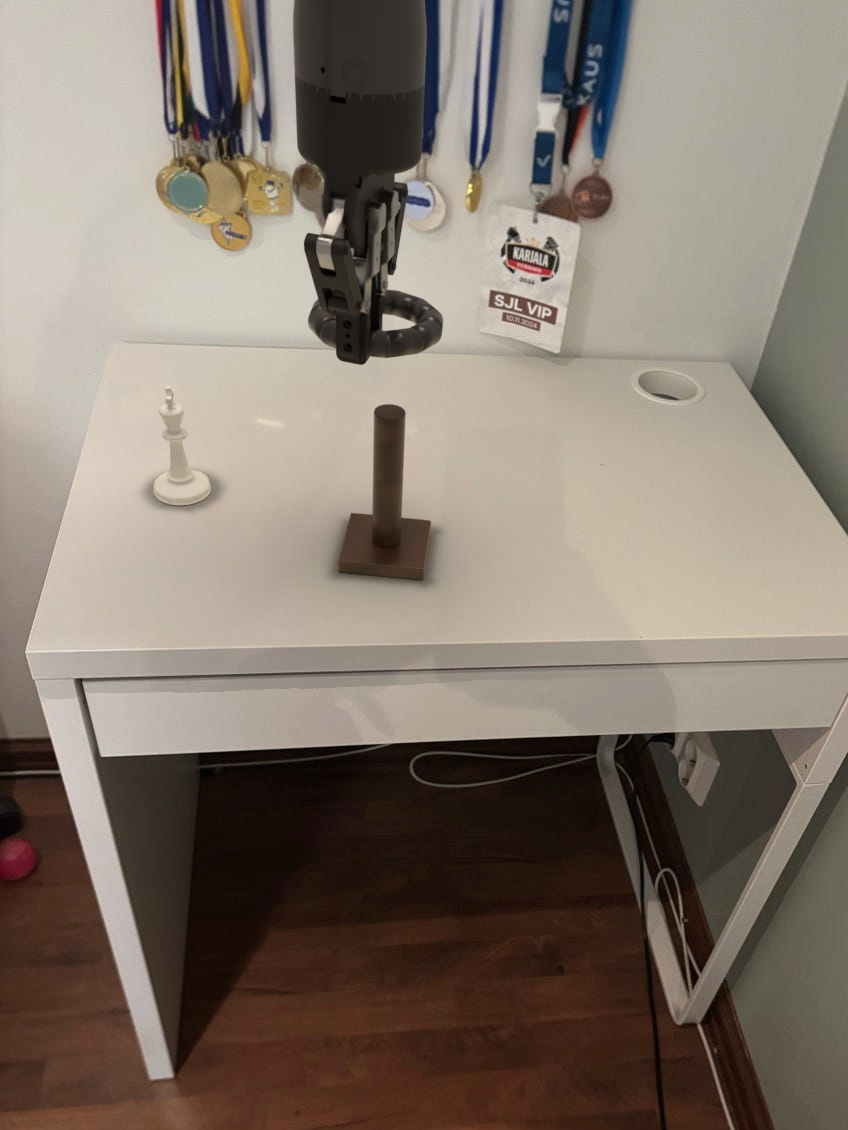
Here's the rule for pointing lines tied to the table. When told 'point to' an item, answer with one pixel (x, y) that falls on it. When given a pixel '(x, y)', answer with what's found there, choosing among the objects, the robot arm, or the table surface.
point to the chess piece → (178, 462)
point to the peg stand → (386, 512)
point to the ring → (392, 340)
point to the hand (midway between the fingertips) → (359, 352)
